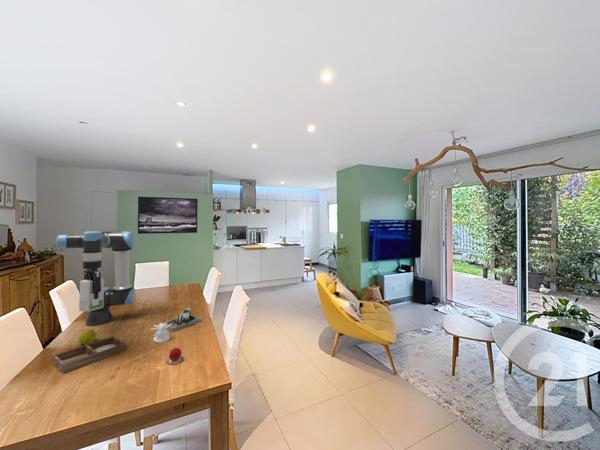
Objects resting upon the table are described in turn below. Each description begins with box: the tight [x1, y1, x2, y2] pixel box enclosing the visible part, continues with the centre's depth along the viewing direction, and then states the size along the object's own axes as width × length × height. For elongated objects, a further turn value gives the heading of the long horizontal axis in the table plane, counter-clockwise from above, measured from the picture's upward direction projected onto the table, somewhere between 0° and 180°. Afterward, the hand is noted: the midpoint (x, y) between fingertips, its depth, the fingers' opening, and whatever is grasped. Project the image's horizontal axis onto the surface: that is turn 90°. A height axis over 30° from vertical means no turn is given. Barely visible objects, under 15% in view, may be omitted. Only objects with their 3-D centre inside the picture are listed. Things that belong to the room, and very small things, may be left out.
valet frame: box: [163, 314, 202, 333], centre depth 173 cm, size 14×21×2 cm, turn 148°
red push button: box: [165, 347, 185, 365], centre depth 128 cm, size 8×8×6 cm
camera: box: [176, 307, 192, 327], centre depth 176 cm, size 16×9×10 cm, turn 19°
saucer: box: [96, 344, 116, 352], centre depth 135 cm, size 10×10×2 cm
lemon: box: [78, 328, 97, 346], centre depth 144 cm, size 11×8×8 cm
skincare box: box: [78, 278, 105, 313], centre depth 130 cm, size 8×7×16 cm
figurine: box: [150, 322, 172, 344], centre depth 150 cm, size 12×9×10 cm
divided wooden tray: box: [51, 335, 128, 374], centre depth 129 cm, size 16×26×4 cm, turn 148°
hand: (91, 303), depth 130 cm, fingers closed on skincare box, 8 cm apart
